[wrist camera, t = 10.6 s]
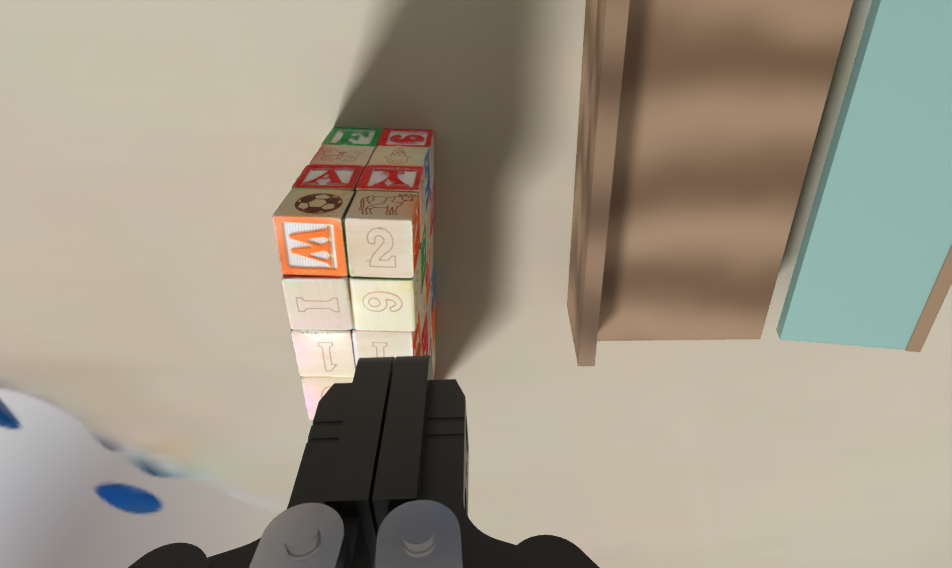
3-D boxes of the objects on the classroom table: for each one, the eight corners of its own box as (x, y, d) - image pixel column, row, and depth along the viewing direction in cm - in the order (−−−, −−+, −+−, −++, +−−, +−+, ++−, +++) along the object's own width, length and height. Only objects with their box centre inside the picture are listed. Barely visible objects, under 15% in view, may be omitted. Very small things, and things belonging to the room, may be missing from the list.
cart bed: (588, -45, 32) (609, -30, 27) (825, -52, 32) (896, -39, 26) (567, 306, 44) (577, 366, 38) (739, 303, 44) (774, 364, 38)
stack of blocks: (437, 392, 49) (423, 529, 38) (358, 390, 49) (322, 526, 38) (434, 126, 37) (413, 220, 27) (330, 123, 37) (269, 216, 27)
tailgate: (891, -31, 28) (1096, -33, 26) (881, -34, 29) (1079, -36, 27) (780, 340, 39) (920, 352, 38) (776, 329, 40) (912, 340, 39)
